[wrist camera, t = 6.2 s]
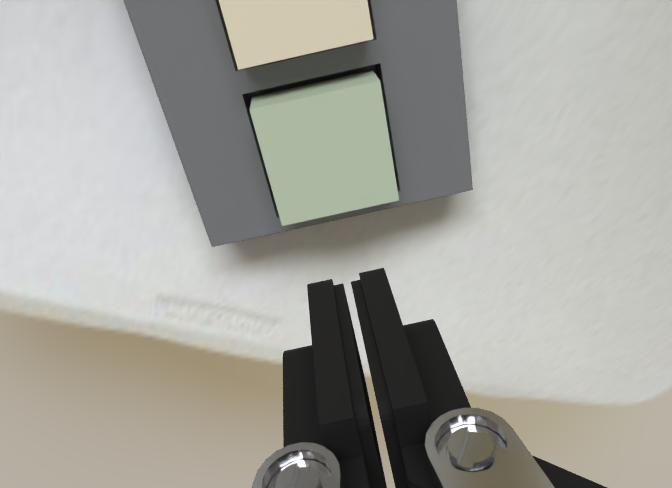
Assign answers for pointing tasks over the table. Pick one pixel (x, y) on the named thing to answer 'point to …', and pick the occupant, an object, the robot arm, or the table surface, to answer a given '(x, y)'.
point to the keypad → (241, 85)
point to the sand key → (292, 27)
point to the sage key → (326, 147)
